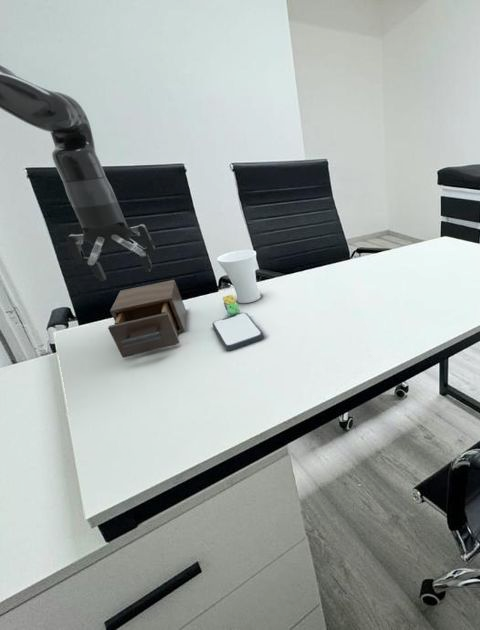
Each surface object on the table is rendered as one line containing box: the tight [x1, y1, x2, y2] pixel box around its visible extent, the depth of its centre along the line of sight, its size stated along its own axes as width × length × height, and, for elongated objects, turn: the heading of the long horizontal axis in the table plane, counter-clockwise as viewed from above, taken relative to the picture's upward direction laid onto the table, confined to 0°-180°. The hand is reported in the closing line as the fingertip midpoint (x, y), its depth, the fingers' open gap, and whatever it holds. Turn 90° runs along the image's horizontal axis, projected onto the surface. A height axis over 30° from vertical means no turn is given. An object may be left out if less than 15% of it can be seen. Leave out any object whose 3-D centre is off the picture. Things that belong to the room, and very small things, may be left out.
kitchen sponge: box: [222, 294, 241, 317], centre depth 103 cm, size 8×3×6 cm, turn 34°
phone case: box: [211, 312, 264, 351], centre depth 96 cm, size 9×2×16 cm
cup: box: [216, 249, 262, 304], centre depth 112 cm, size 10×10×14 cm
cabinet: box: [109, 279, 187, 334], centre depth 100 cm, size 15×13×10 cm
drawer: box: [107, 301, 181, 359], centre depth 91 cm, size 18×11×8 cm, turn 27°
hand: (126, 275), depth 87 cm, fingers open, 8 cm apart
